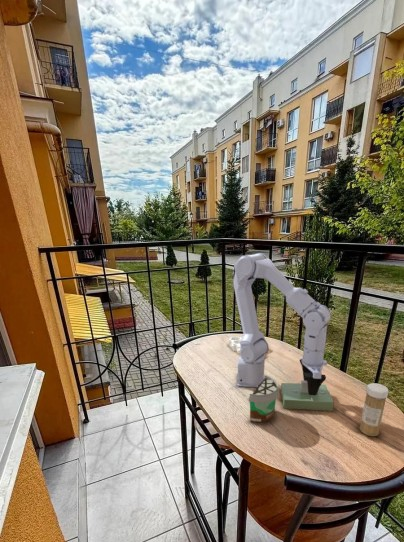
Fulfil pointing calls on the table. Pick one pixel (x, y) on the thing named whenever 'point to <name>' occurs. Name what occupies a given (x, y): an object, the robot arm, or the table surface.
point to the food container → (263, 401)
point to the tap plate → (305, 398)
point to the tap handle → (304, 387)
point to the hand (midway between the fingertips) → (309, 387)
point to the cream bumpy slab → (235, 343)
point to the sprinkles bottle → (373, 409)
